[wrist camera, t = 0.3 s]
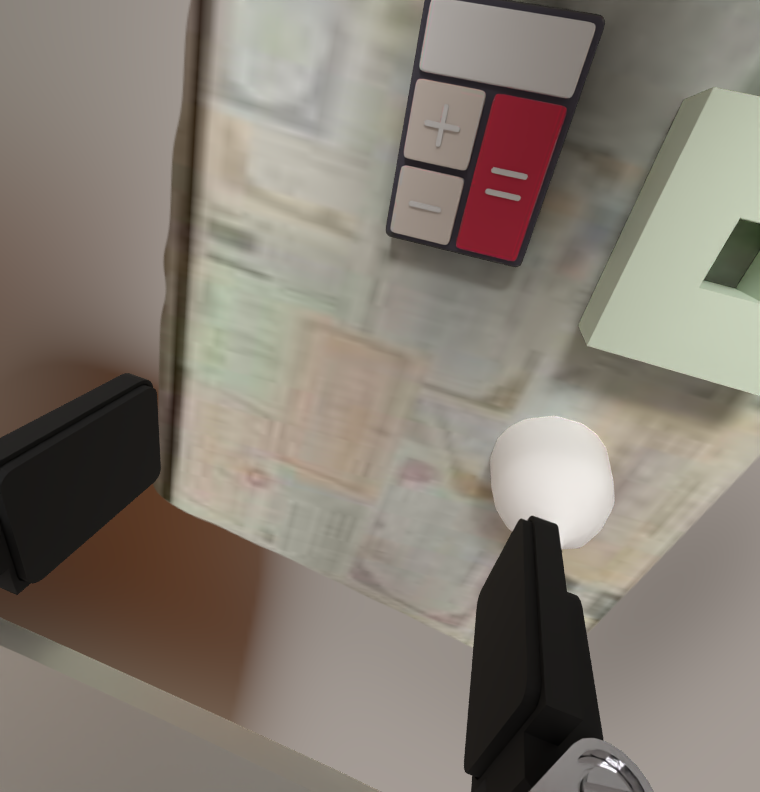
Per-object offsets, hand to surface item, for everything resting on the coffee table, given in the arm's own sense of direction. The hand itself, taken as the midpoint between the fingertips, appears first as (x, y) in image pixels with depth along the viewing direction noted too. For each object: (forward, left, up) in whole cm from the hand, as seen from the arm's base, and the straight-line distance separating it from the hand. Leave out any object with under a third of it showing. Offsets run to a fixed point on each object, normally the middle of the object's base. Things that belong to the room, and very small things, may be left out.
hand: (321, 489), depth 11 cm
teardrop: (+16, +14, -31) cm, 38 cm away
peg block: (-6, +18, -31) cm, 36 cm away
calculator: (-9, -1, -31) cm, 32 cm away
